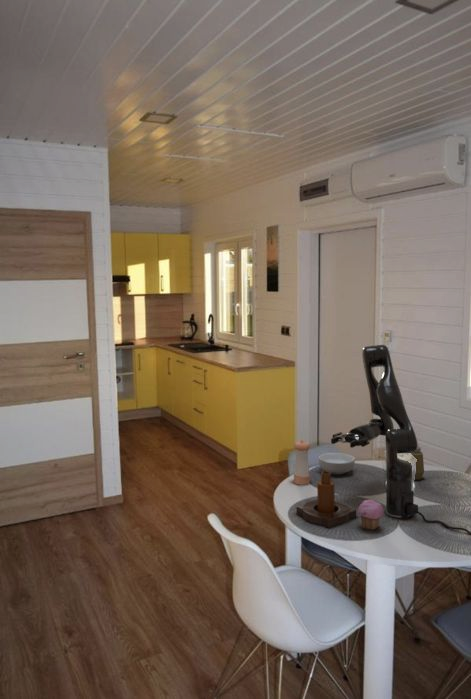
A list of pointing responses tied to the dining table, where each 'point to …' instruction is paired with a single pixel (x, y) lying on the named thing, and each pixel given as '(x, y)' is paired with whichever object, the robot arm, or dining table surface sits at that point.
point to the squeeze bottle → (419, 463)
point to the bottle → (326, 493)
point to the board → (326, 514)
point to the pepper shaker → (301, 463)
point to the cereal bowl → (336, 462)
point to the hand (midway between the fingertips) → (341, 443)
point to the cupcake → (370, 514)
